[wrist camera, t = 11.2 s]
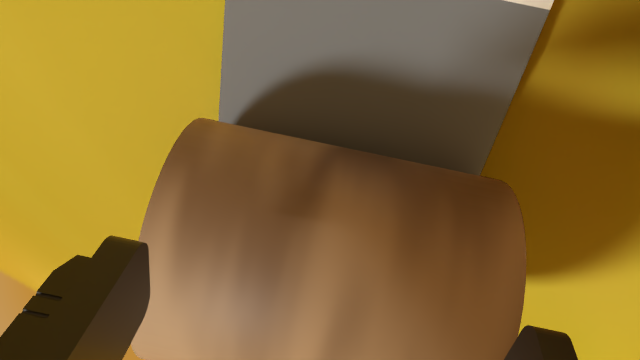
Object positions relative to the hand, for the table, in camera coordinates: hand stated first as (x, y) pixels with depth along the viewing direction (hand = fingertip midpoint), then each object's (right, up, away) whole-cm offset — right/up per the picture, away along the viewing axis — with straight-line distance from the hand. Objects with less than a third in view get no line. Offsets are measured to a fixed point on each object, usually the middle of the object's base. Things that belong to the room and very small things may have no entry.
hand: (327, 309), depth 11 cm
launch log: (+1, +2, +10) cm, 10 cm away
